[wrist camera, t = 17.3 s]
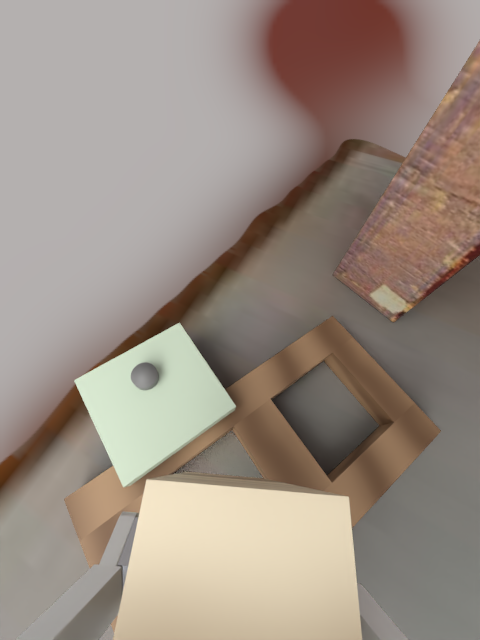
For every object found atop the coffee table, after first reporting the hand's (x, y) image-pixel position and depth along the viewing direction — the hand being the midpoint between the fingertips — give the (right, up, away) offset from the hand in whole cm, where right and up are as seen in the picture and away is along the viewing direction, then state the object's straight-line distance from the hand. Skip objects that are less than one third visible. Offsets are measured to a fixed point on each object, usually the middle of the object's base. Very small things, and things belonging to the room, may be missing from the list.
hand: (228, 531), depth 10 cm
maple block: (-1, -3, +5) cm, 6 cm away
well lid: (-7, +1, +14) cm, 15 cm away
